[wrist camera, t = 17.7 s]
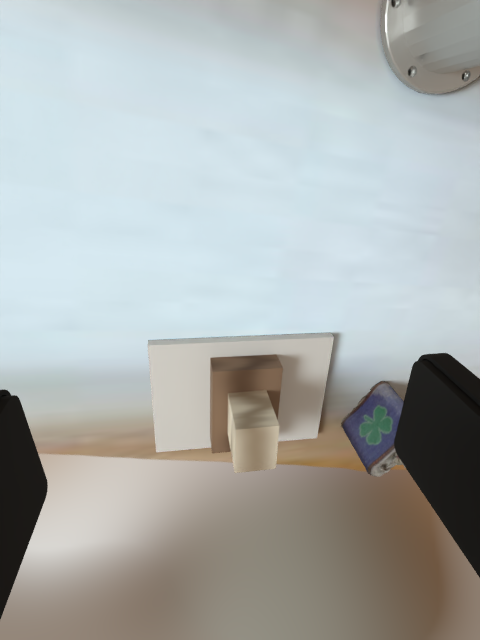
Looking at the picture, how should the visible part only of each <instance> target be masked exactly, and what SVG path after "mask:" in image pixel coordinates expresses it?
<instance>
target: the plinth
mask: <svg viewBox="0 0 480 640" xmlns="http://www.w3.org/2000/svg"><path fill="white" fill-rule="evenodd" d="M282 374H283V367H282V365H281V362H280V360H279V358H278V356H277V354H273V355H253V356H233V357H213V358H210V441H211V449H212V453H220V452H231V449H230V444H229V438H228V393H237V392H250V391H262V390H267V393H268V396H269V398H270V401H271V404H272V407H273V409H274V412H275V415H276V417H277V420H278V412H279V402H280V393H281V383H282Z"/></svg>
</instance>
